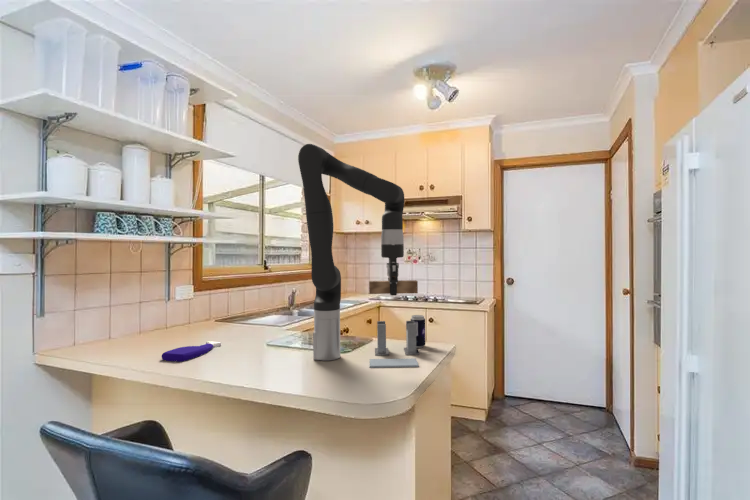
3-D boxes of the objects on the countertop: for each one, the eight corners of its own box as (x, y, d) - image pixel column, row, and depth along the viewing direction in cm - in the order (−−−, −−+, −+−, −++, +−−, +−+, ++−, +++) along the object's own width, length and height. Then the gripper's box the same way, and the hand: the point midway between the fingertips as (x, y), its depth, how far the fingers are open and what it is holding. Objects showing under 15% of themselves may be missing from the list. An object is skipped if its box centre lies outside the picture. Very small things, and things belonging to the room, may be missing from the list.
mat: (369, 367, 131) (369, 365, 131) (369, 360, 139) (369, 359, 139) (418, 367, 131) (418, 365, 131) (415, 360, 139) (415, 358, 139)
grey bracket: (405, 355, 146) (405, 324, 145) (403, 349, 154) (403, 320, 154) (419, 354, 146) (419, 324, 146) (416, 348, 154) (416, 320, 154)
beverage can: (424, 348, 154) (424, 317, 154) (410, 348, 156) (409, 317, 156) (425, 345, 160) (425, 314, 160) (411, 344, 161) (411, 314, 161)
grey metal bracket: (375, 355, 145) (374, 325, 145) (374, 349, 154) (374, 320, 154) (388, 355, 145) (388, 324, 145) (387, 349, 154) (387, 320, 154)
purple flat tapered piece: (184, 354, 139) (227, 340, 163) (158, 352, 142) (204, 338, 166) (184, 363, 139) (227, 347, 163) (158, 361, 142) (204, 345, 166)
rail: (369, 293, 133) (369, 281, 133) (369, 292, 137) (369, 280, 137) (417, 293, 133) (417, 281, 133) (416, 291, 137) (416, 280, 137)
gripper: (380, 243, 142) (380, 292, 142) (382, 243, 128) (382, 297, 128) (401, 243, 142) (402, 292, 142) (405, 243, 128) (406, 296, 128)
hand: (392, 294), depth 135 cm, fingers closed on rail, 4 cm apart
